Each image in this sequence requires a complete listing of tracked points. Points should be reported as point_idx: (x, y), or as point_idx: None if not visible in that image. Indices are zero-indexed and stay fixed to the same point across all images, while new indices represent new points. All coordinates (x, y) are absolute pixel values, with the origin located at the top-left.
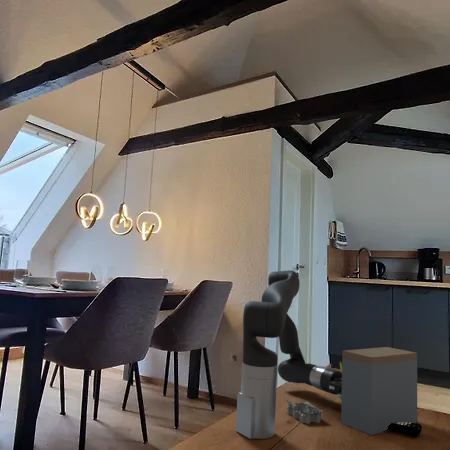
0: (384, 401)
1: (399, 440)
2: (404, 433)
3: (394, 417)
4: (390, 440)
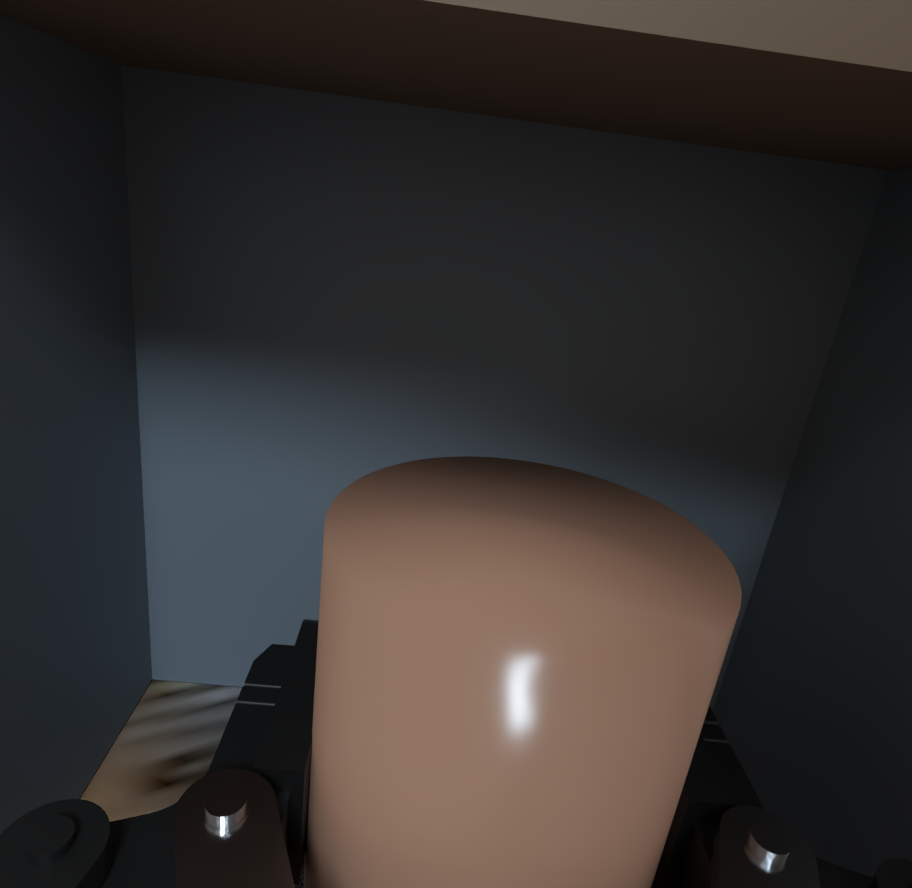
0: None
1: None
2: None
3: None
4: None
